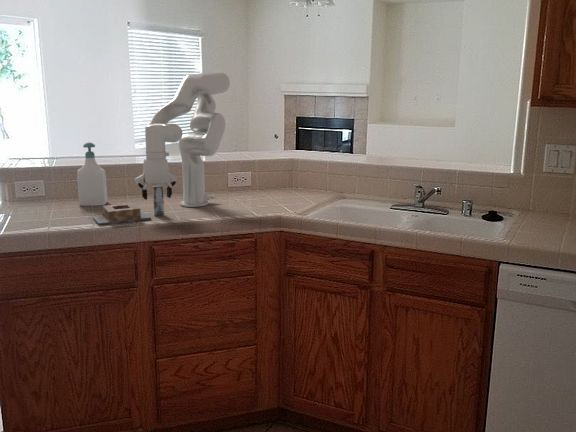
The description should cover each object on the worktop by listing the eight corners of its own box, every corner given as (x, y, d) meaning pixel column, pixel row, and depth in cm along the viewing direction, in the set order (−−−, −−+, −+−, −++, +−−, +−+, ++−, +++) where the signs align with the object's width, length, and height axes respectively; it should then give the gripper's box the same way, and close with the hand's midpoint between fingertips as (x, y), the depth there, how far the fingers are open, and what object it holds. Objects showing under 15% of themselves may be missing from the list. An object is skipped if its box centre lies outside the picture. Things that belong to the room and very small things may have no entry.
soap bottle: (108, 201, 250) (104, 141, 244) (105, 205, 242) (100, 143, 236) (83, 201, 249) (78, 141, 242) (79, 205, 241) (74, 143, 234)
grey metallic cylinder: (162, 213, 226) (161, 185, 223) (165, 215, 223) (164, 186, 220) (153, 214, 224) (151, 186, 221) (155, 216, 221) (154, 187, 218)
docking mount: (143, 213, 226) (142, 201, 225) (151, 219, 216) (150, 207, 215) (92, 219, 217) (91, 206, 216) (98, 225, 206) (97, 213, 205)
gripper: (174, 154, 225) (175, 195, 229) (131, 155, 217) (133, 198, 220) (179, 156, 219) (180, 198, 222) (136, 157, 210) (138, 201, 214)
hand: (157, 198), depth 221 cm, fingers open, 9 cm apart
